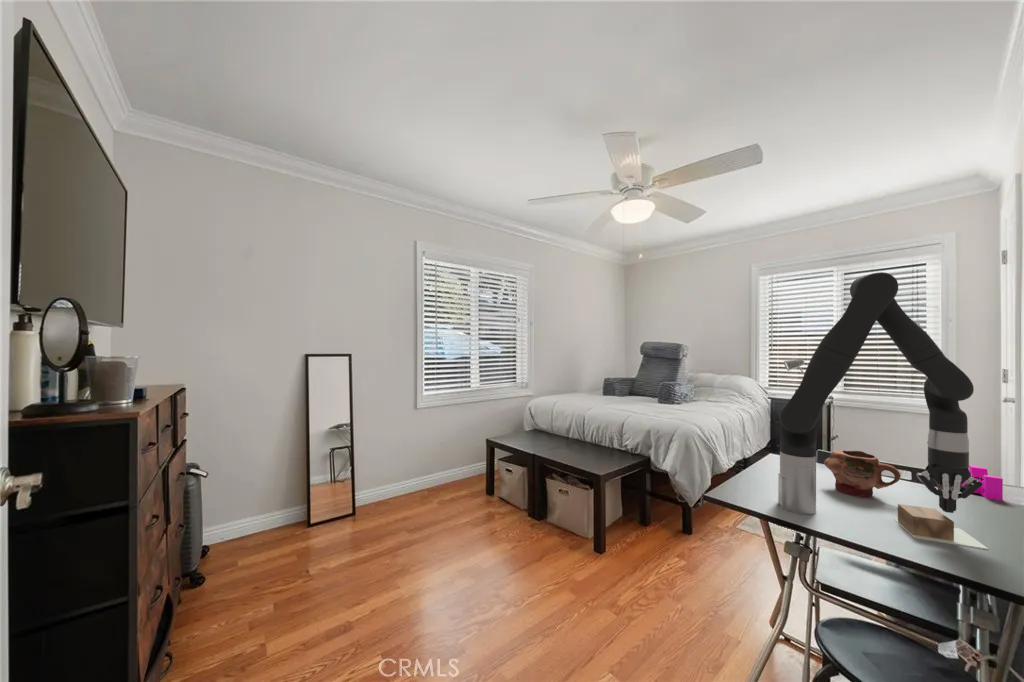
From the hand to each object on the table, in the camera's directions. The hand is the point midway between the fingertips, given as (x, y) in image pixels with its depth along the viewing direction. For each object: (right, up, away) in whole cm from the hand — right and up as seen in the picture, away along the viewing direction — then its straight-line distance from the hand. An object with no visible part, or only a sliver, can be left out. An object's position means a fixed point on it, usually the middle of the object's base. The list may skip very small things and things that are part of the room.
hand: (947, 511), depth 108 cm
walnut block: (-1, -4, 0) cm, 4 cm away
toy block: (+46, -7, +32) cm, 57 cm away
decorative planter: (+2, -7, +29) cm, 30 cm away
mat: (-2, -7, +1) cm, 7 cm away
